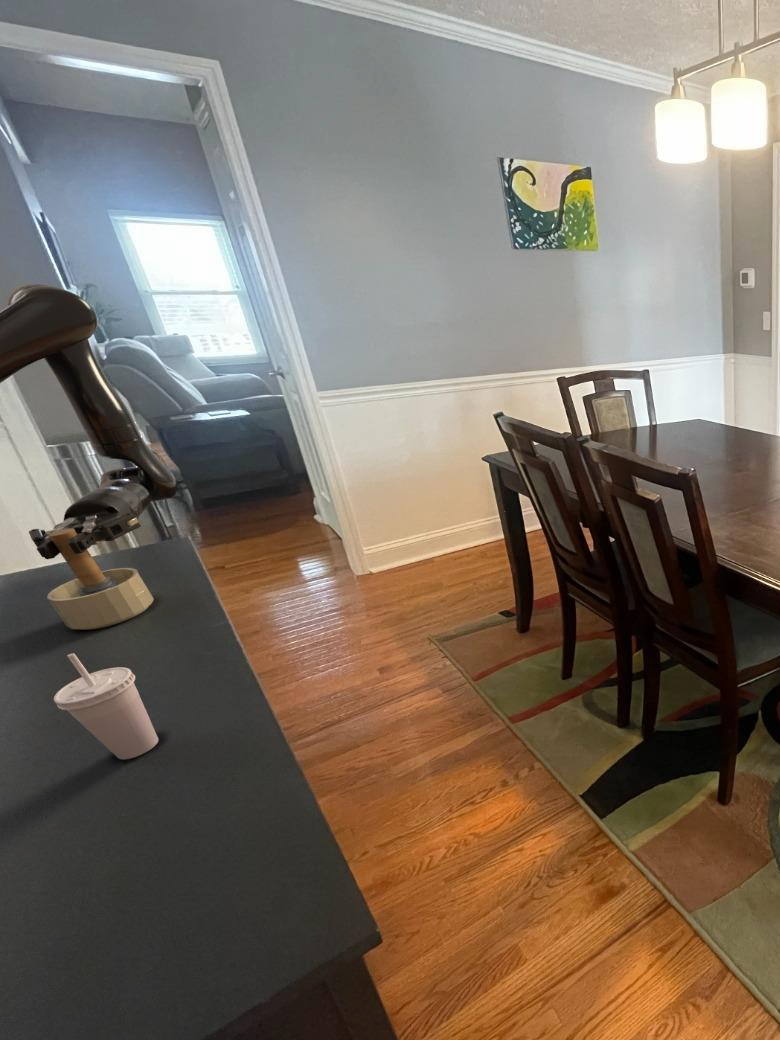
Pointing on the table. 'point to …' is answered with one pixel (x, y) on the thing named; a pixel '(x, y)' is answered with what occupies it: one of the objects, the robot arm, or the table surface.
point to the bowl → (102, 601)
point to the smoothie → (109, 709)
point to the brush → (81, 564)
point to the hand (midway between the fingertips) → (60, 550)
